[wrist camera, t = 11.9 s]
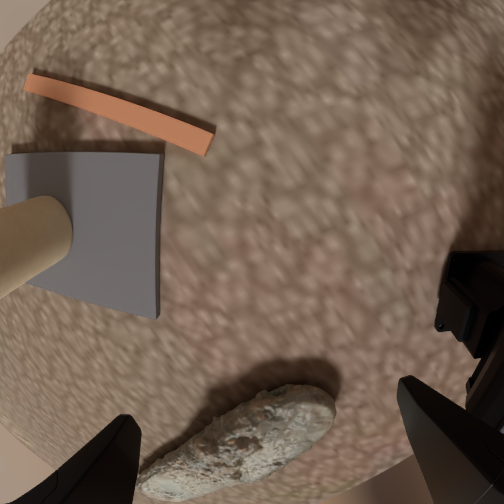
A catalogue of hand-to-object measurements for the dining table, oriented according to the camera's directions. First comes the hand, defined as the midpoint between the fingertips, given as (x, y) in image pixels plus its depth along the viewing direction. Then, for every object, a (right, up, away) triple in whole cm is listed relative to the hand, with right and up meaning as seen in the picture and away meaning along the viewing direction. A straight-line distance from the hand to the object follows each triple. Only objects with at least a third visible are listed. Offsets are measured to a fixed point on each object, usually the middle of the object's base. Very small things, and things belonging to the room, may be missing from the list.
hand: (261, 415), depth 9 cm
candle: (-17, +7, +12) cm, 22 cm away
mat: (-15, +7, +13) cm, 21 cm away
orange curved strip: (-11, +16, +9) cm, 21 cm away
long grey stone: (-5, -18, +21) cm, 28 cm away
